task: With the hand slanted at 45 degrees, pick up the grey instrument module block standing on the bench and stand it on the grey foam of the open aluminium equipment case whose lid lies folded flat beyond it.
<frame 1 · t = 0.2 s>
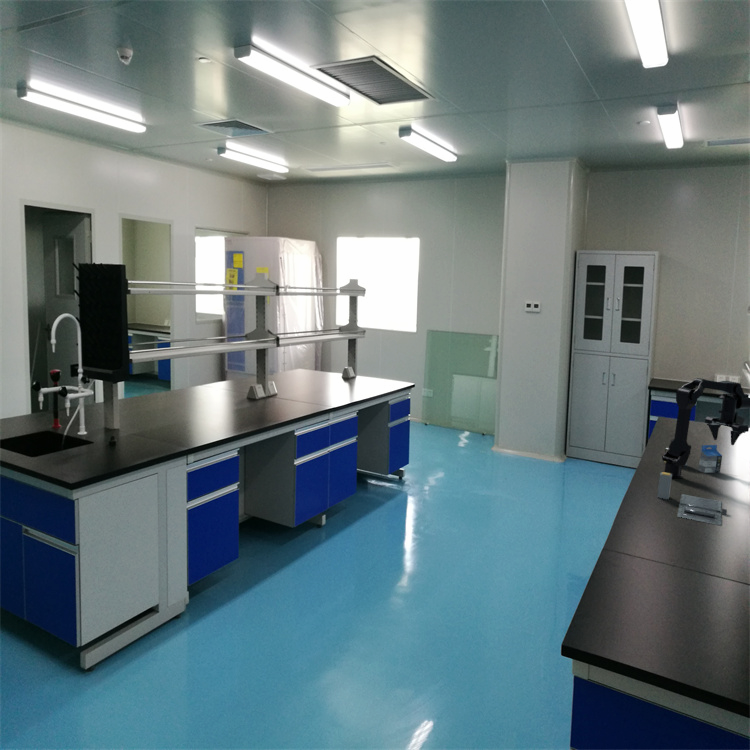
hand: (723, 442, 278), 14 cm above the table, tool pointing down, fingers open, 9 cm apart
label tape cartridge: (709, 472, 282), on the table
case: (700, 503, 237), on the table
module: (663, 497, 243), on the table
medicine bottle: (674, 464, 292), on the table
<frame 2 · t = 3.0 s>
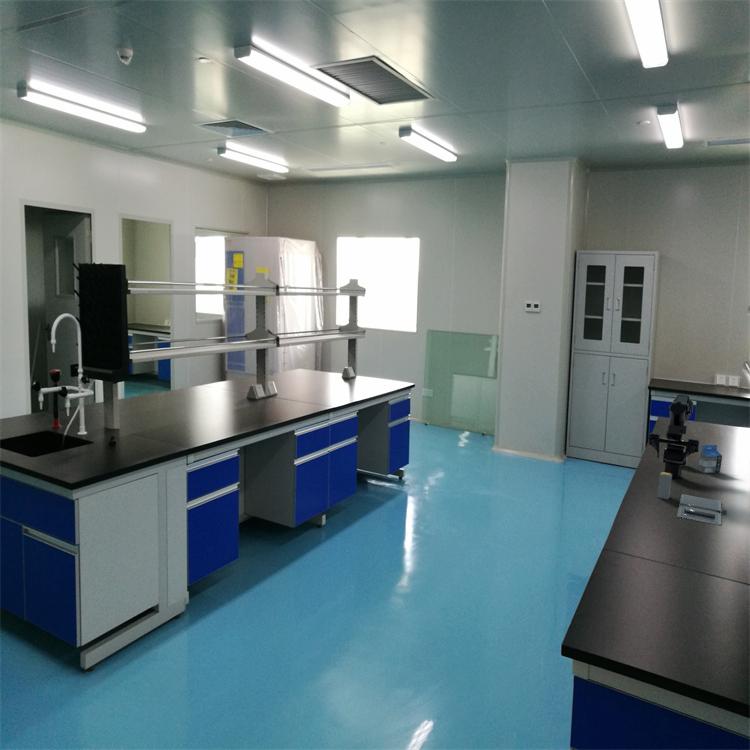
hand: (670, 459, 248), 13 cm above the table, tool tilted 45°, fingers open, 9 cm apart
nothing on the table moved.
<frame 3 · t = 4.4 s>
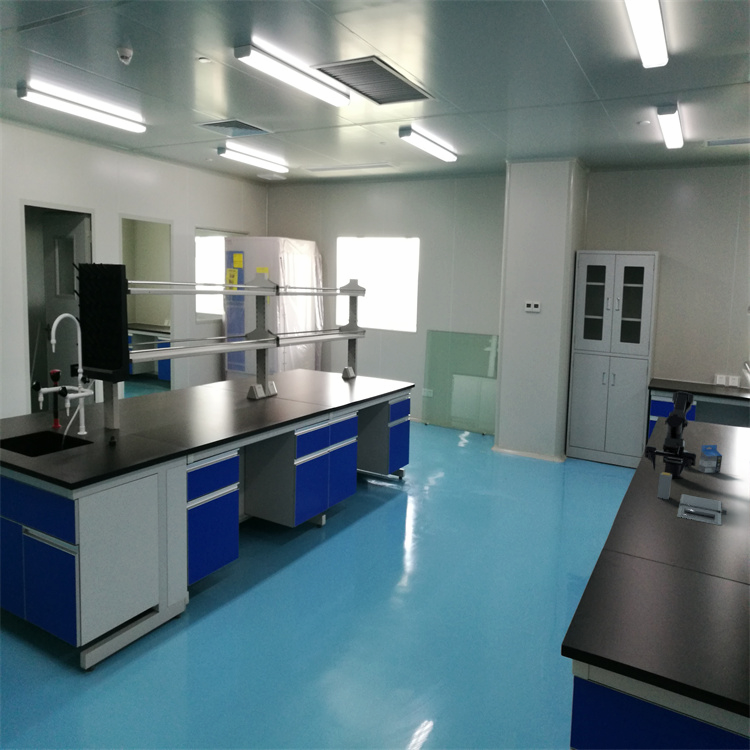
hand: (666, 473, 243), 9 cm above the table, tool tilted 45°, fingers open, 9 cm apart
nothing on the table moved.
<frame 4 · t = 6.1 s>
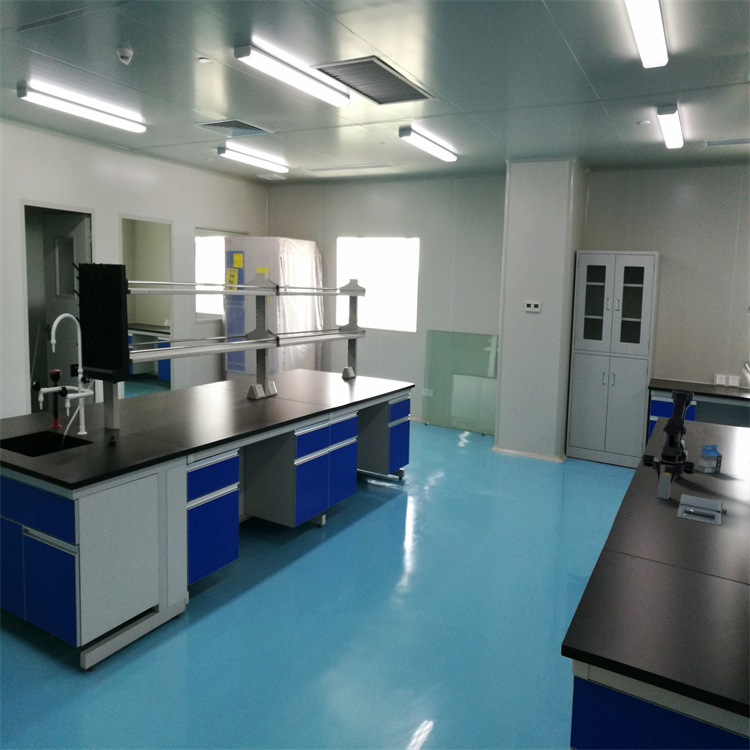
hand: (664, 482, 241), 7 cm above the table, tool tilted 45°, fingers closed on module, 4 cm apart
module: (663, 497, 243), on the table, touching gripper
everything else where it was.
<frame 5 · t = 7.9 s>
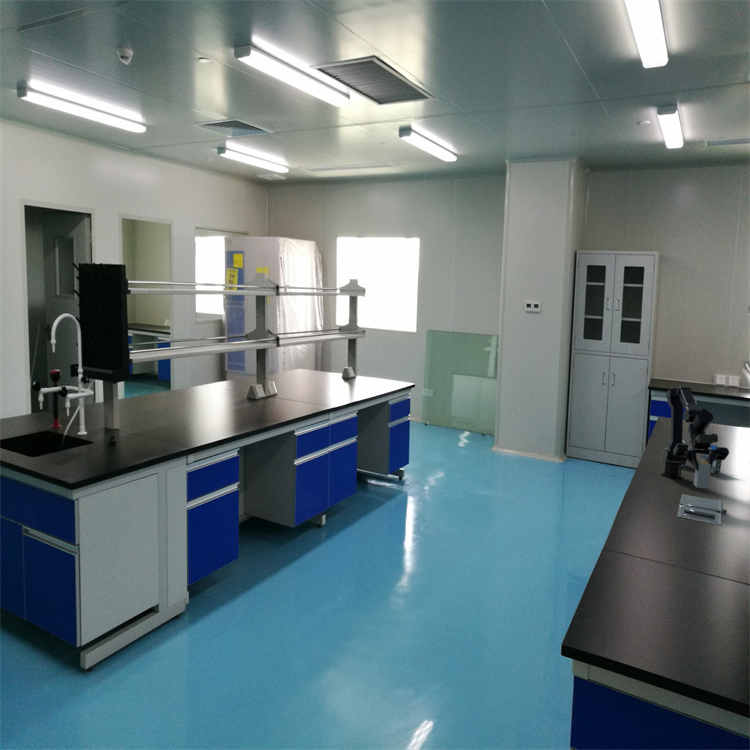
hand: (703, 471, 234), 13 cm above the table, tool tilted 45°, fingers closed on module, 4 cm apart
module: (700, 486, 236), point 7 cm above the table, touching gripper
everything else where it was.
when the fingers open (8 cm above the table, at t = 9.6 s): module stays where it is, resting on case.
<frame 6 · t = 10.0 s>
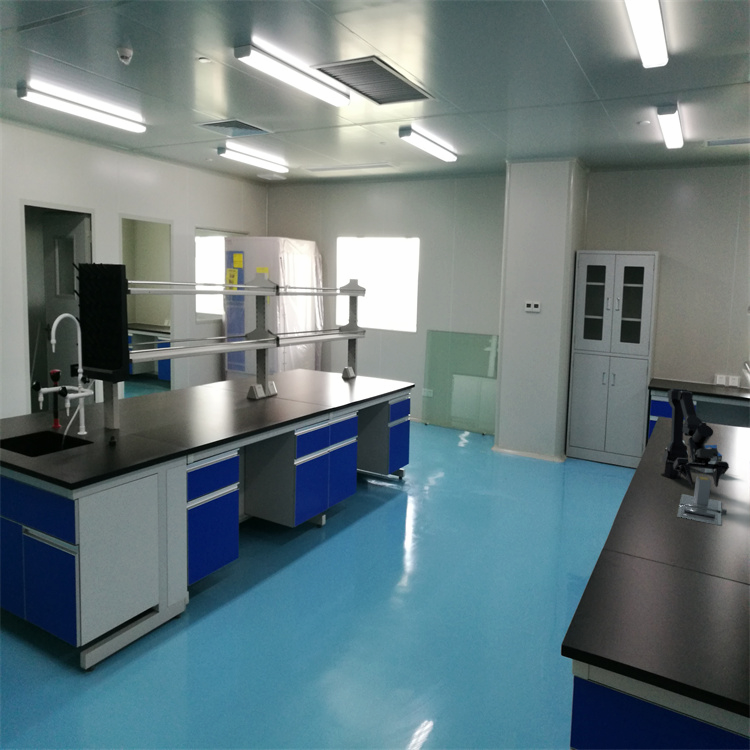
hand: (704, 485, 235), 8 cm above the table, tool tilted 45°, fingers open, 9 cm apart
module: (700, 502, 237), point 1 cm above the table, touching case
everything else where it was.
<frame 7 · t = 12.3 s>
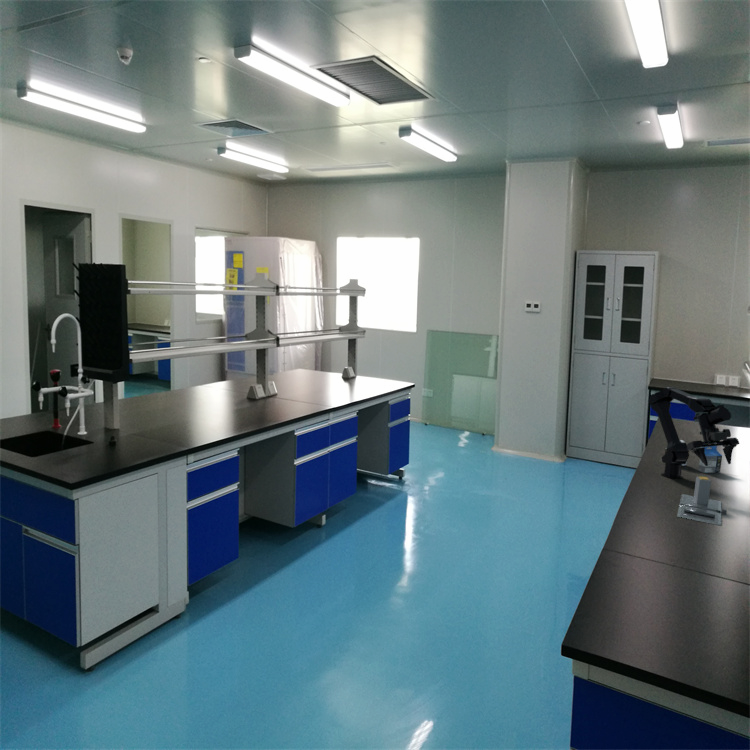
hand: (718, 464, 247), 13 cm above the table, tool tilted 30°, fingers open, 9 cm apart
nothing on the table moved.
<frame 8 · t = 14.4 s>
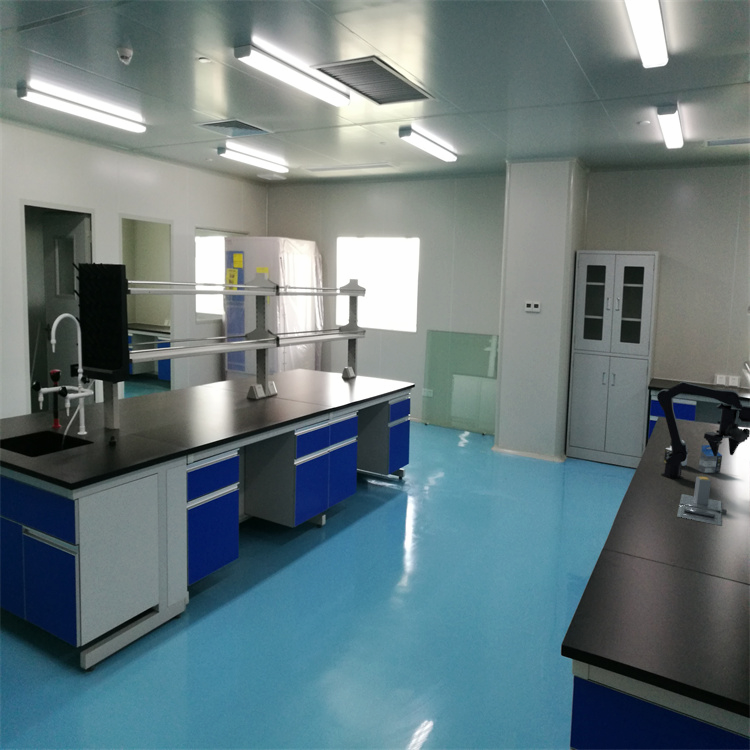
hand: (723, 455, 261), 13 cm above the table, tool pointing down, fingers open, 9 cm apart
nothing on the table moved.
at the end: module inside the target area on the case (0.0 cm from its centre), point 0.6 cm above the case's base; module tilted 0°; the gripper is holding nothing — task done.
